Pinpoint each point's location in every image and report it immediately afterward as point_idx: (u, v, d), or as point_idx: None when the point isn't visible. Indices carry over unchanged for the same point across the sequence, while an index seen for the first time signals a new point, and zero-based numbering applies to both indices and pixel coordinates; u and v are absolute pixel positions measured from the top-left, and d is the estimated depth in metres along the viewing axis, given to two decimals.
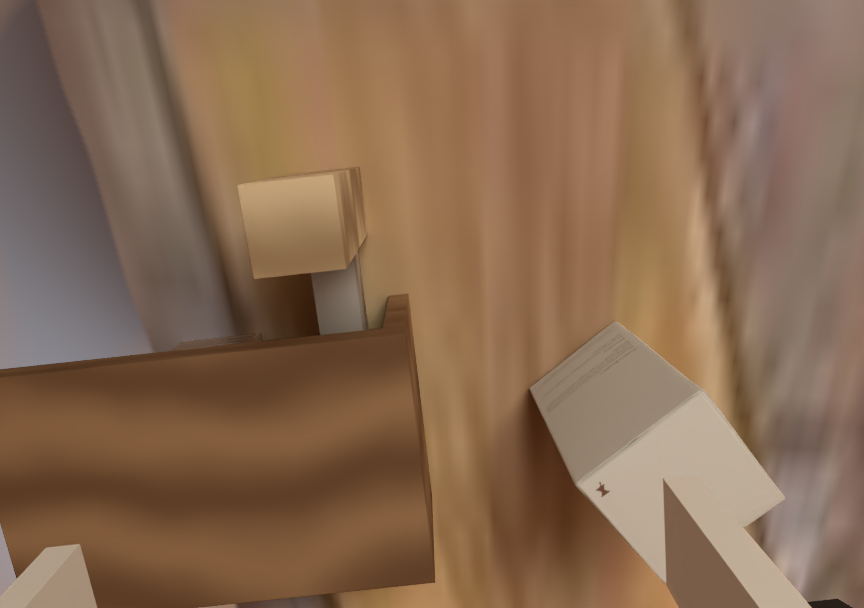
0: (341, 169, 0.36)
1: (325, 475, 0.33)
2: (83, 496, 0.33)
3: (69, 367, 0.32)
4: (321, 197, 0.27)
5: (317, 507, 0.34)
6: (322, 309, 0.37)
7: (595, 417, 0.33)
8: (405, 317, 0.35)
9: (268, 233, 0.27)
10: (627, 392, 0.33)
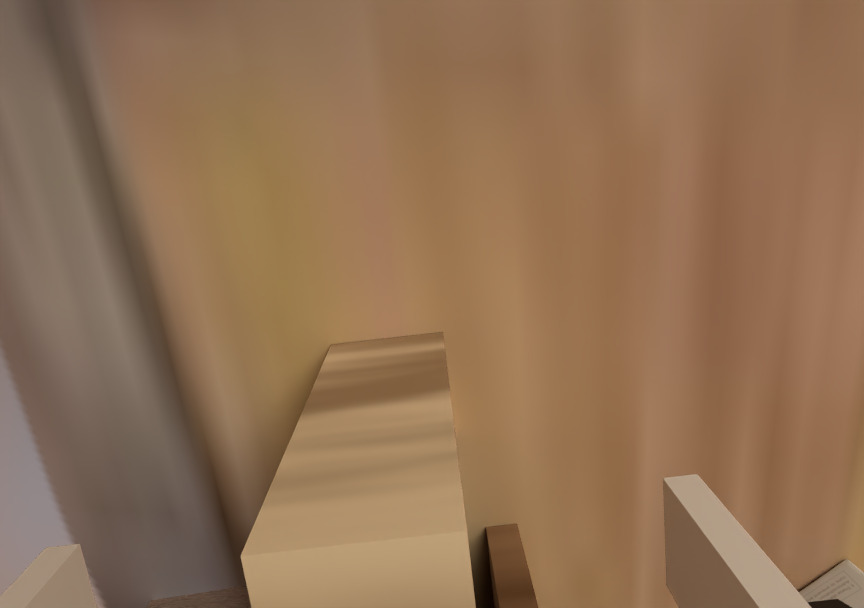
0: (419, 352, 0.21)
1: None
2: None
3: None
4: (437, 578, 0.12)
5: None
6: None
7: None
8: None
9: None
10: None
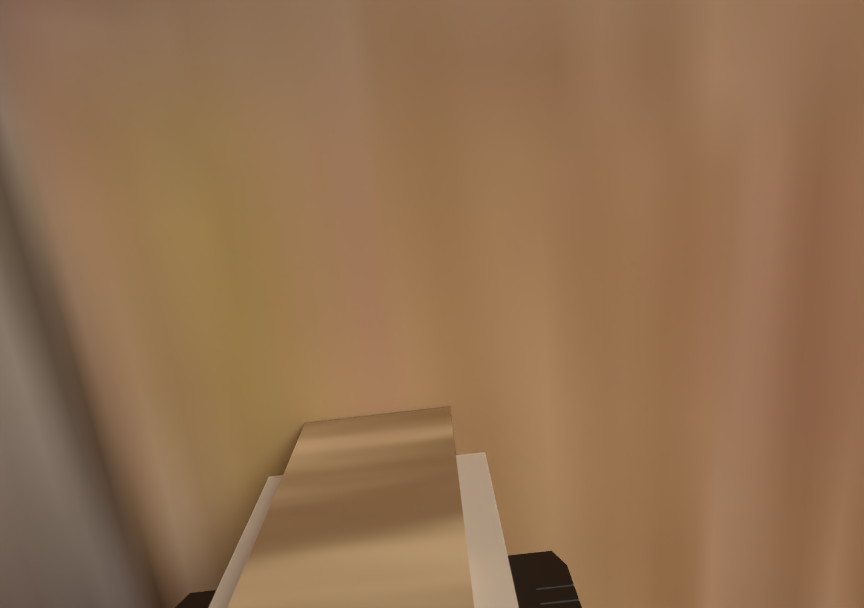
0: (419, 441, 0.16)
1: None
2: None
3: None
4: None
5: None
6: None
7: None
8: None
9: None
10: None
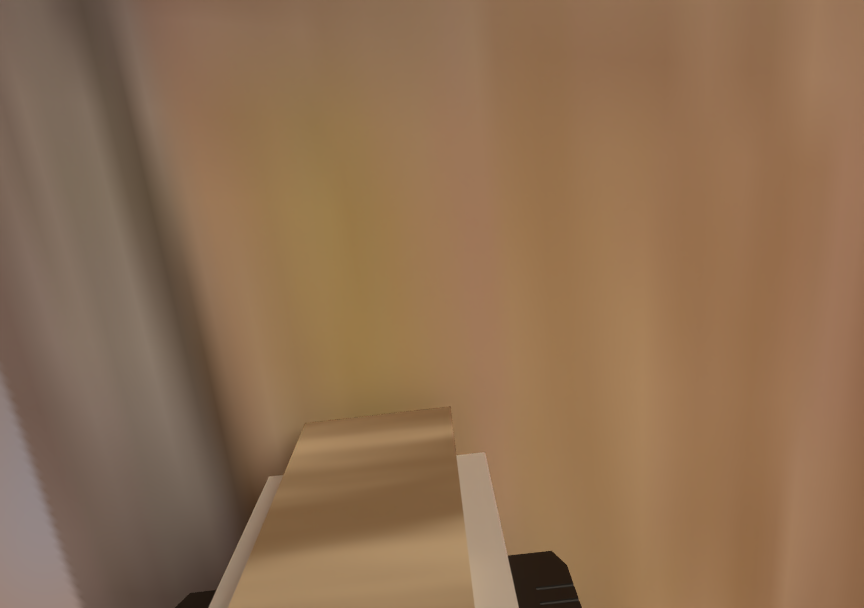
0: (420, 441, 0.16)
1: None
2: None
3: None
4: None
5: None
6: None
7: None
8: None
9: None
10: None
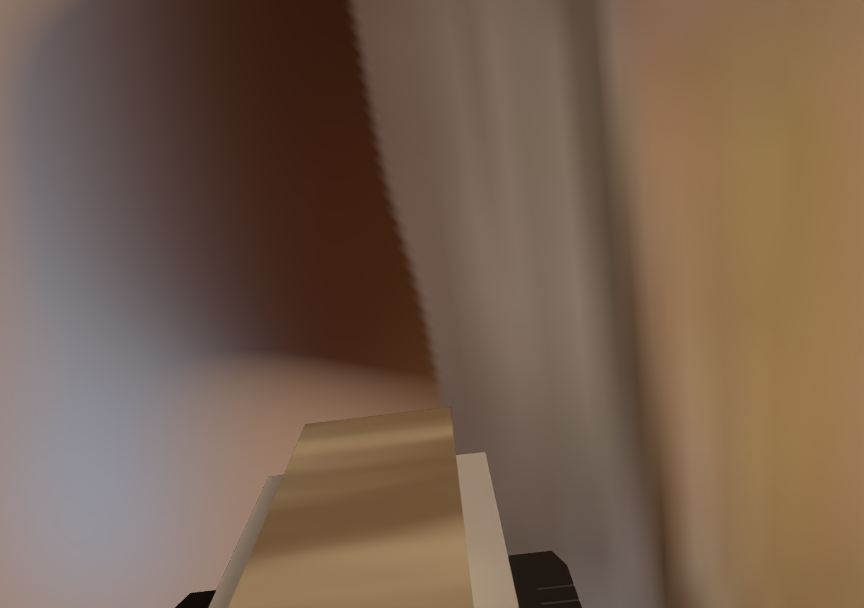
0: (419, 442, 0.16)
1: None
2: None
3: None
4: None
5: None
6: None
7: None
8: None
9: None
10: None
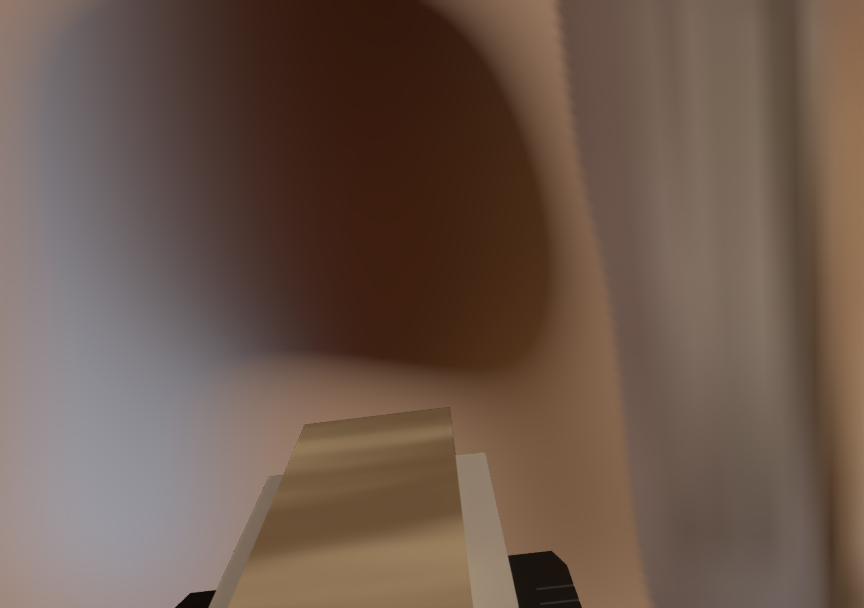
0: (419, 442, 0.16)
1: None
2: None
3: None
4: None
5: None
6: None
7: None
8: None
9: None
10: None
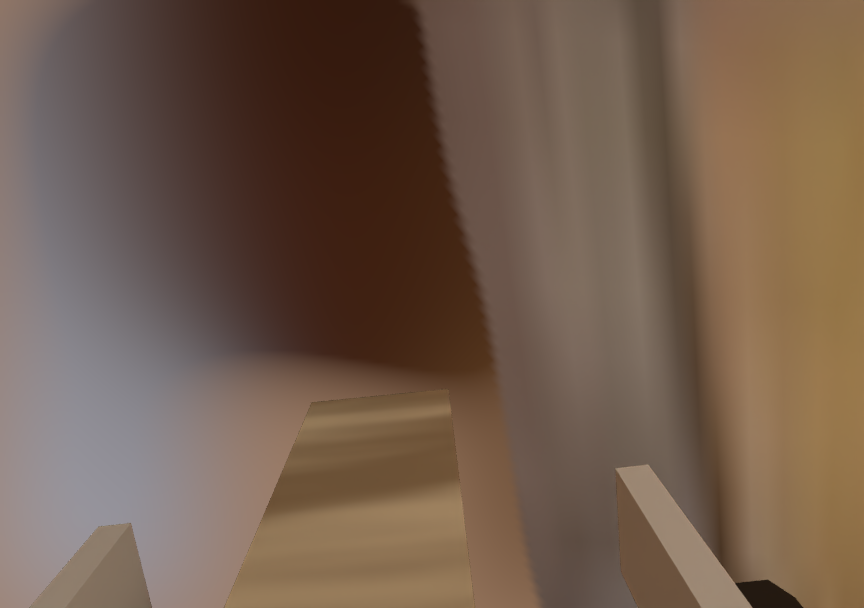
0: (419, 418, 0.17)
1: None
2: None
3: None
4: None
5: None
6: None
7: None
8: None
9: None
10: None
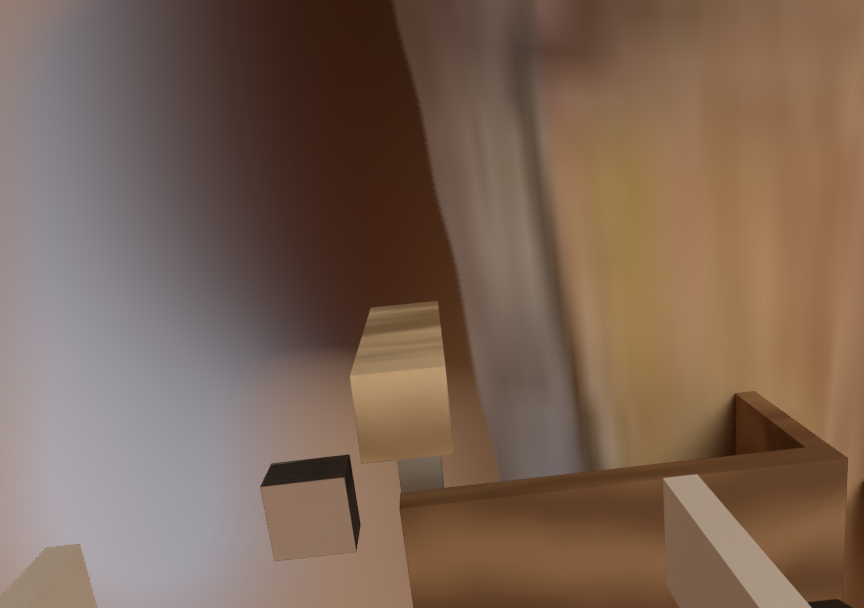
0: (423, 310, 0.37)
1: None
2: None
3: (504, 491, 0.32)
4: (432, 387, 0.27)
5: None
6: None
7: None
8: (807, 430, 0.35)
9: (378, 421, 0.27)
10: None
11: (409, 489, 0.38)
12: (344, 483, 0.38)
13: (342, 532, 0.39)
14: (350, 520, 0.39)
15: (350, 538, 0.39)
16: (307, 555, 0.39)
